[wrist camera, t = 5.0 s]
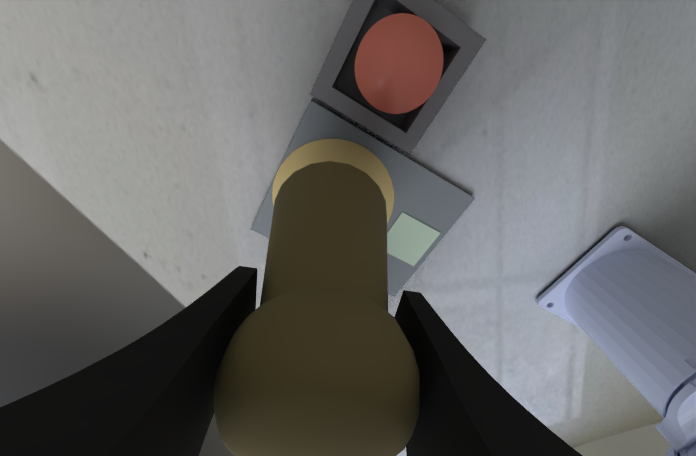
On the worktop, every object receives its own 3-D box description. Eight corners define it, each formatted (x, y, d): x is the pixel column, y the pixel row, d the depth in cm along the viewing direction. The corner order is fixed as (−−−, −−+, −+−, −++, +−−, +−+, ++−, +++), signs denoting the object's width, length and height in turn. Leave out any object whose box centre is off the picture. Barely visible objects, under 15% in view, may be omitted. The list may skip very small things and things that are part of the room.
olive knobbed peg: (253, 226, 16) (126, 477, 7) (315, 135, 14) (256, 325, 4) (342, 277, 18) (343, 526, 8) (410, 205, 16) (518, 443, 6)
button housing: (466, 44, 16) (486, 39, 13) (402, 144, 18) (410, 154, 16) (370, -27, 14) (374, -46, 12) (315, 91, 17) (309, 94, 14)
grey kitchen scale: (472, 196, 20) (475, 198, 19) (393, 293, 23) (394, 297, 23) (311, 99, 17) (310, 100, 17) (252, 226, 21) (249, 230, 20)
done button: (445, 51, 14) (461, 47, 12) (401, 122, 16) (409, 129, 14) (380, 4, 14) (385, -9, 12) (340, 84, 15) (339, 85, 13)
